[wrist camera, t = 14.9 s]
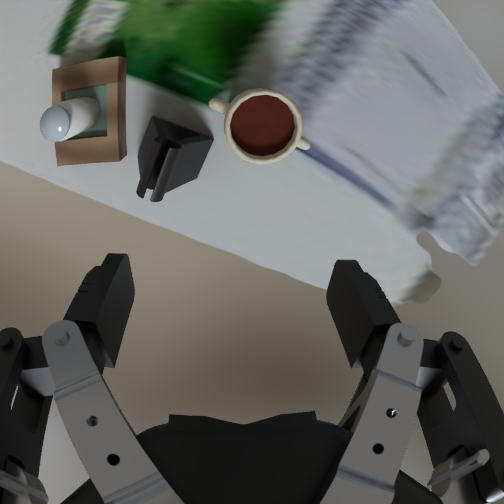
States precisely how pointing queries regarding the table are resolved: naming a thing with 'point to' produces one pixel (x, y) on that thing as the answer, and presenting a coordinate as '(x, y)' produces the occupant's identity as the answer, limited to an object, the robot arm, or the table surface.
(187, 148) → the phone stand
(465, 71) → the table surface
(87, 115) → the white rounded cylinder
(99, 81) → the wooden frame
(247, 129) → the character mug
